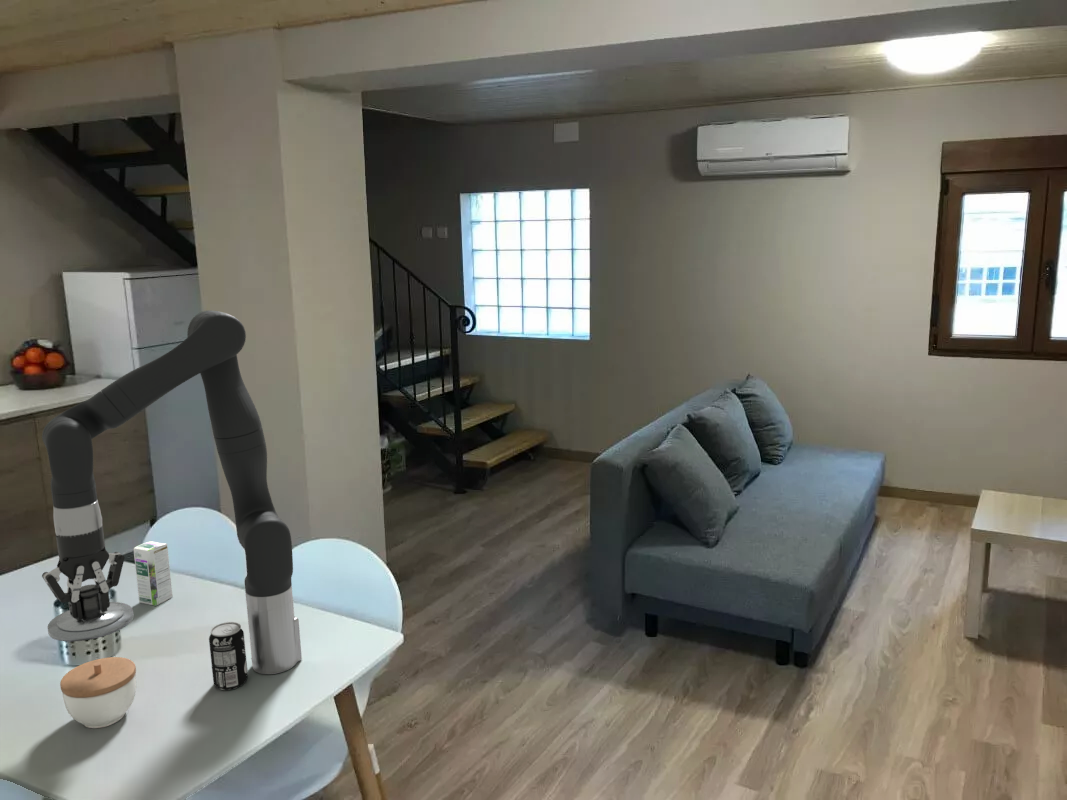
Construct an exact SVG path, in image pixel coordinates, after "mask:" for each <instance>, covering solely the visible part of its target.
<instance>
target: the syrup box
mask: <svg viewBox="0 0 1067 800" xmlns="http://www.w3.org/2000/svg"><path fill="white" fill-rule="evenodd" d="M133 556H134V565H135V575H136V583H137V593H138V603H140V604H146V605H151V606H154V607H156V606H158V605H160V604H162V603H164V602H166V601H168V600H170V599H172V598H173V587H172V586H173V585H172V578H171V569H170V557H169V547H168V543H163V542H157V541H153V540H151V541H147V542H146V541H145V542H144V543H141V544H139V545H137V546H135V547H133Z"/></svg>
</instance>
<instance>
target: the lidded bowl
mask: <svg viewBox="0 0 1067 800" xmlns="http://www.w3.org/2000/svg"><path fill="white" fill-rule="evenodd" d="M136 673H137V666H136V664H135V662H134V661H133V660H131V659H129V658H127V657H120V656H114V657H111V656H109V657H104V658H103V657H102V658H97V659H94V660H90V661H87V662H84V663H82V664H80V665H77V666H76V667H73V668H72V669H70V670H69V671H68V672H67V673H65V674H64V676H62V678H61V680H60V681H59V682H60V683H59V684H60V685H59V686H60V690H61V693H62V701H63V703H64V705H65V708H66V711H67V712H68V714H69V715H70V717H71V718H72V719H73V720H74V721H76V722H77V723H79V724H81V725H83V726H84V727H85V728H88V729H100V728H106V727H108V726H112V725H113V724H116V723H117V722H119V721H121V720H122V719H123V718H124V717H125V714H126V713H127V711H128V710H129V709H130V708H131V706H132V704H133V703H134V700H135V697H136V692H137V674H136Z"/></svg>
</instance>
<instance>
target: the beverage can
mask: <svg viewBox="0 0 1067 800" xmlns="http://www.w3.org/2000/svg"><path fill="white" fill-rule="evenodd" d="M208 642H209V651H210V652H209V653H210V660H211V671H212V680H213V685H214V686H215V687H216V688H218V689H219V690H221V691H232V690H234V689H238V688H241V687H242V686H243V685H244V684H245V683H246V681H247V680H248V679H249V677H248V676H249V675H248V663H247V653H246V644H245V643H246V642H245V632H244V630H243V629H242V625H241V624H240V623H238V622H234V621H227V622H221V623H219V624H216V625H215V626H213V627H211V629H210V635H209V637H208Z"/></svg>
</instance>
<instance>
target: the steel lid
mask: <svg viewBox="0 0 1067 800" xmlns="http://www.w3.org/2000/svg"><path fill="white" fill-rule="evenodd" d="M98 593H100V587H99V585H96V584H95V583H93V584H85V585H81V589H80V592H79V599H78V600H79V601H80V603H81V610H82V617H83V619H82V620H79V621H78V620H77V619H75V618H73V617H72V616H71V614H70V609H69V610H66V611H64V612H62V613H60V614H58V615H57V616H55V617H53V618H52V619H51V620H50V621H49V623H48V625H47V633H48V636H49V637H50V638H51V639H54V640H56V641H60V642H83V641H88V640H89V641H90V640H95V639H99V638H103V637H106V636H108V635H111V634H114V633H116V632H118V631H121V630H122V629H124V628H126V627H127V626H128V625H129V624H131V623H132V621H133V619H134V610H133V607H132V606H131V605H129V604H127V603H123V602H119V601H118V602H117V601H109V602H110V606H109V607H108V608H107V611H106V612H102V611H100V604H99V596H98Z"/></svg>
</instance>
